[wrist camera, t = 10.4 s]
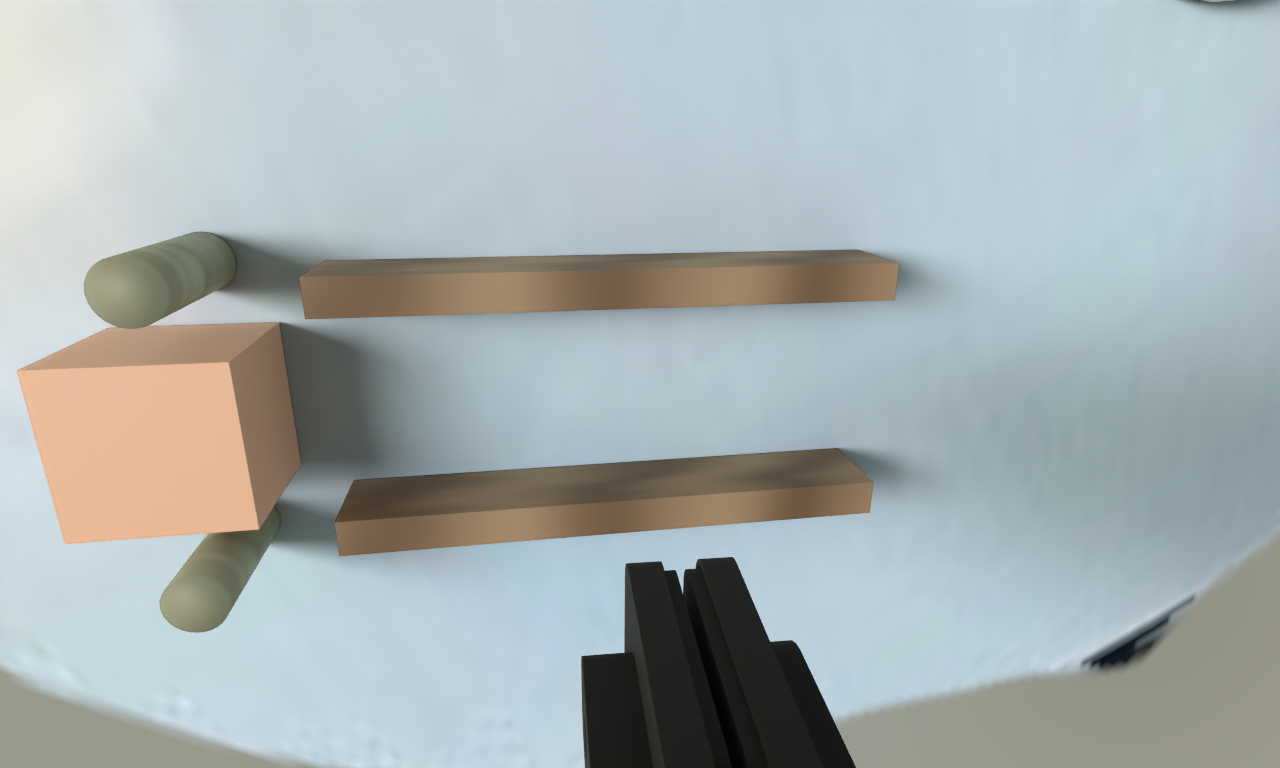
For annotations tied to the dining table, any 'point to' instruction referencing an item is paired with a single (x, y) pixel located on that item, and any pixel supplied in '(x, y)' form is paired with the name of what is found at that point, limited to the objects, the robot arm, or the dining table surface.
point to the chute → (525, 497)
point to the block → (164, 430)
